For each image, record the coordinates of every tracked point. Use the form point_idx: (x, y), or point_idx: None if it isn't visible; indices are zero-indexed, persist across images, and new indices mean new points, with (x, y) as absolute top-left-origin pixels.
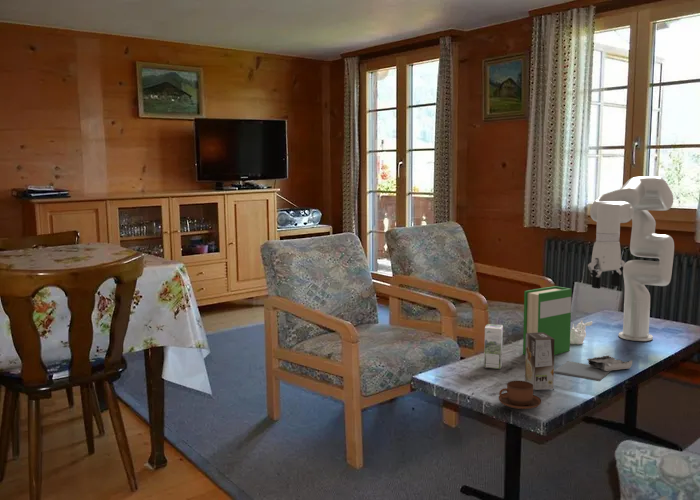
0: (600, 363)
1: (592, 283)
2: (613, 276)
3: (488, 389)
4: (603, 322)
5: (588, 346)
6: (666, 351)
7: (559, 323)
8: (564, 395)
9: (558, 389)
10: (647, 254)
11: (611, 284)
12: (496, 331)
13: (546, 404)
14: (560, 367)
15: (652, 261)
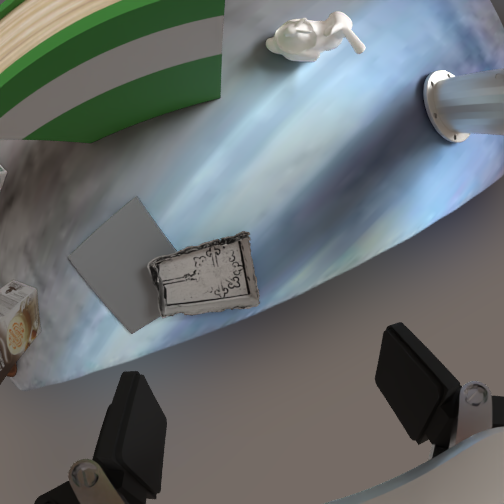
0: (160, 302)
1: (106, 413)
2: (424, 397)
3: None
4: (453, 3)
5: (309, 82)
6: (431, 209)
7: (144, 90)
8: (50, 355)
9: (48, 334)
10: None
11: (385, 333)
12: None
13: (25, 365)
14: (90, 240)
15: None
